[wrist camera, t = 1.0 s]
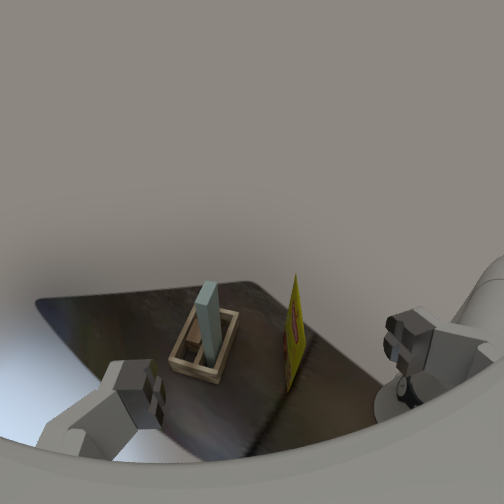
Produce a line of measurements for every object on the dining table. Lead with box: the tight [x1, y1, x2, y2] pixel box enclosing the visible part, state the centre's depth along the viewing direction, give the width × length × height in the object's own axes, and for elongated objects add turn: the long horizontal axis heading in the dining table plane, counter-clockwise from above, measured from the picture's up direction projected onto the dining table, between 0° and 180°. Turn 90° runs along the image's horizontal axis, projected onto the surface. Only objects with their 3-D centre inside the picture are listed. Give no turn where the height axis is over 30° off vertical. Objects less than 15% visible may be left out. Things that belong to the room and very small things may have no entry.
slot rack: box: [168, 304, 239, 384], centre depth 60 cm, size 10×16×5 cm, turn 166°
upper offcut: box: [186, 318, 202, 349], centre depth 60 cm, size 3×6×2 cm, turn 167°
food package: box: [283, 274, 306, 393], centre depth 53 cm, size 15×1×20 cm, turn 0°
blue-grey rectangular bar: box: [195, 280, 223, 368], centre depth 52 cm, size 2×5×22 cm, turn 166°
